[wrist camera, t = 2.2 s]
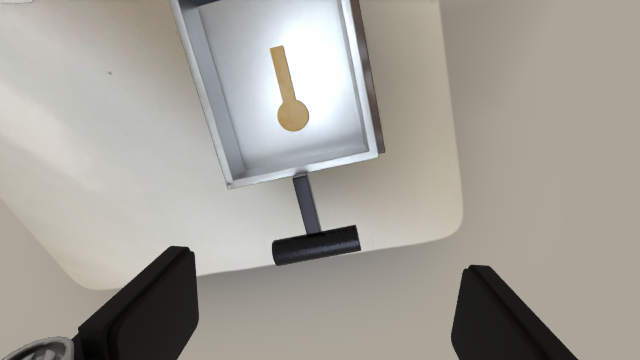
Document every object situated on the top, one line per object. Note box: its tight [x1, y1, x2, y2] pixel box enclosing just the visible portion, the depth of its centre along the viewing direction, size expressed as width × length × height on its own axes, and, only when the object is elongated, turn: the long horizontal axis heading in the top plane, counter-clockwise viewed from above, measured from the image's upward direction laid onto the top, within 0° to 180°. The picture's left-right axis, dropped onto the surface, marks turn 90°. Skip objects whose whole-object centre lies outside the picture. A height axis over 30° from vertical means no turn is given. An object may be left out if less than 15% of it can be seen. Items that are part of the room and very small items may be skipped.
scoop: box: [169, 0, 379, 266], centre depth 21 cm, size 19×11×6 cm, turn 13°
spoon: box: [270, 45, 309, 132], centre depth 23 cm, size 6×2×1 cm, turn 13°
